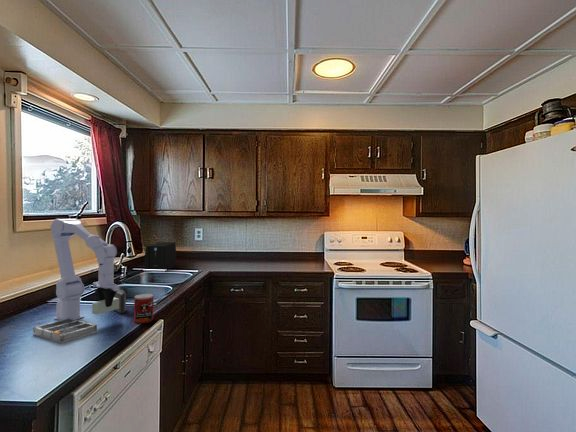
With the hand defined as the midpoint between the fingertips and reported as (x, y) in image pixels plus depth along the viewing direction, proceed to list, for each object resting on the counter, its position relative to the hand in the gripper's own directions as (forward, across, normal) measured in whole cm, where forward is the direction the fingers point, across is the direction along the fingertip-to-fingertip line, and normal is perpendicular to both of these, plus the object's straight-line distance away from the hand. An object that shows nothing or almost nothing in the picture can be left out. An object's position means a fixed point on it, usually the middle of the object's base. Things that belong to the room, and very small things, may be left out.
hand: (105, 305), depth 151 cm
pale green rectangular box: (+2, 0, 0) cm, 2 cm away
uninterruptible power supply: (+8, -89, +112) cm, 143 cm away
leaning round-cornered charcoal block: (+8, -14, +15) cm, 22 cm away
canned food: (+8, +10, +11) cm, 17 cm away
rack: (+8, -3, -15) cm, 17 cm away
